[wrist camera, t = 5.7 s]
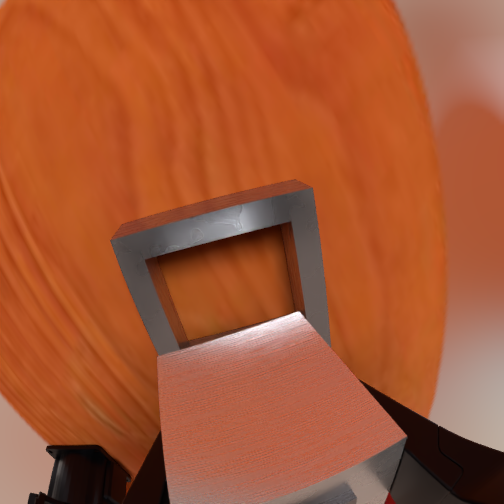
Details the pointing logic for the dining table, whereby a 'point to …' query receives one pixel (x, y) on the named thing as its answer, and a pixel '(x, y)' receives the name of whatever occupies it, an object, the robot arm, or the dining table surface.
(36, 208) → the dining table surface
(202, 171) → the dining table surface
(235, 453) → the block
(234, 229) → the grey flat frame
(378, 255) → the dining table surface
